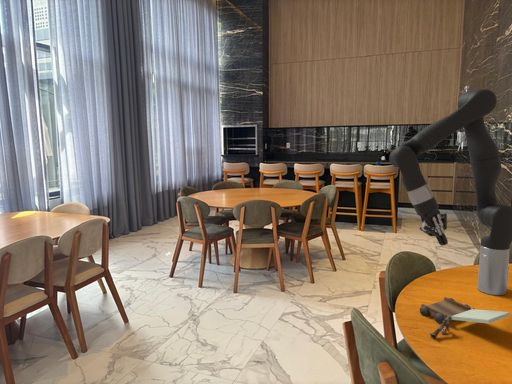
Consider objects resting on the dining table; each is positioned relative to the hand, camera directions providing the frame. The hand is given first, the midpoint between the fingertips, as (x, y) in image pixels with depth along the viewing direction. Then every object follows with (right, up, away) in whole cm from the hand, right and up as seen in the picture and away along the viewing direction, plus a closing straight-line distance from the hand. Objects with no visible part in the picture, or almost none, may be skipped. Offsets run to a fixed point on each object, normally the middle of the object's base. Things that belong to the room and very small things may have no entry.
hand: (444, 244), depth 132 cm
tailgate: (-1, -20, -12) cm, 24 cm away
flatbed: (-3, -22, -7) cm, 23 cm away
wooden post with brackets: (-11, -25, -19) cm, 33 cm away
